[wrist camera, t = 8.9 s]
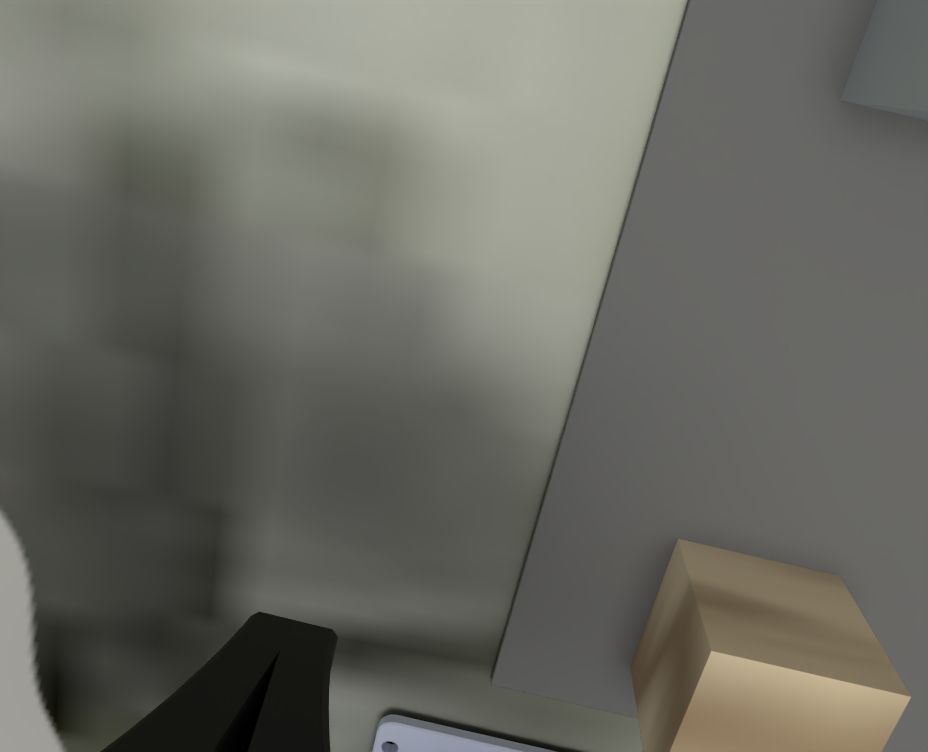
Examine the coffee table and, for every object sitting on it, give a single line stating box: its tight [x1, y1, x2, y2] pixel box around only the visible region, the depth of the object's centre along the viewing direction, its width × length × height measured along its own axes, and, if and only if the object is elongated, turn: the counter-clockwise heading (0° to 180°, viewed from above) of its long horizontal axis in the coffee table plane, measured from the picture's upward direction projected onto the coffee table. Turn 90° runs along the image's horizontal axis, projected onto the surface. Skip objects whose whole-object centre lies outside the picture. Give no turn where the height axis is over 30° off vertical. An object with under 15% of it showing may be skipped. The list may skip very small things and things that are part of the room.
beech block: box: [630, 539, 911, 752], centre depth 21 cm, size 4×4×4 cm
